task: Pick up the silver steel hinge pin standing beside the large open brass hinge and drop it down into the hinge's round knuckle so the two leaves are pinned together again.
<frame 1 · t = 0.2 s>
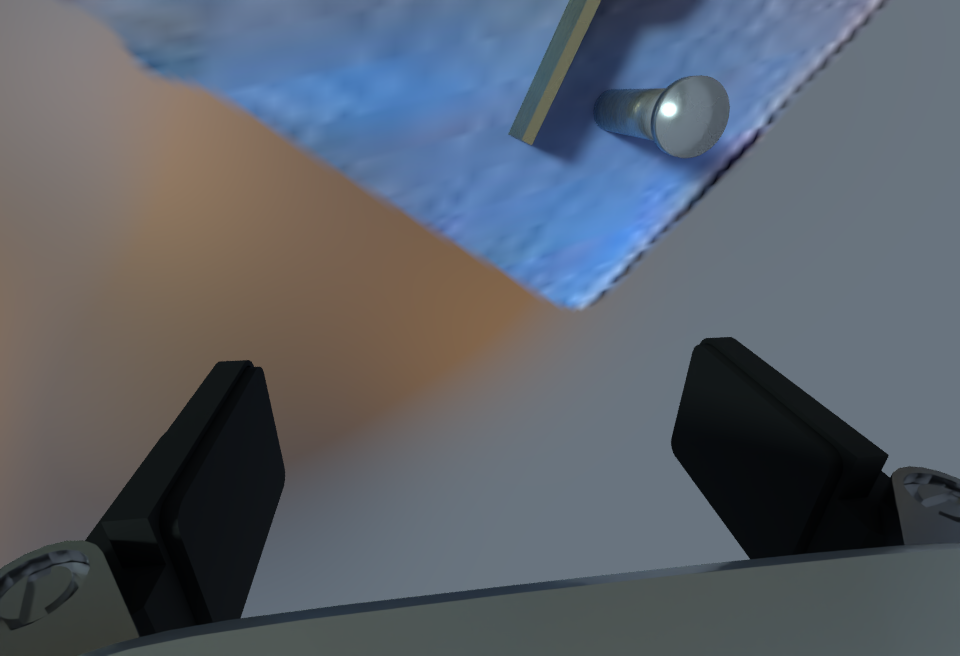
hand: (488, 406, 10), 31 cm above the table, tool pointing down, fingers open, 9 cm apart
hinge pin: (612, 110, 37), on the table
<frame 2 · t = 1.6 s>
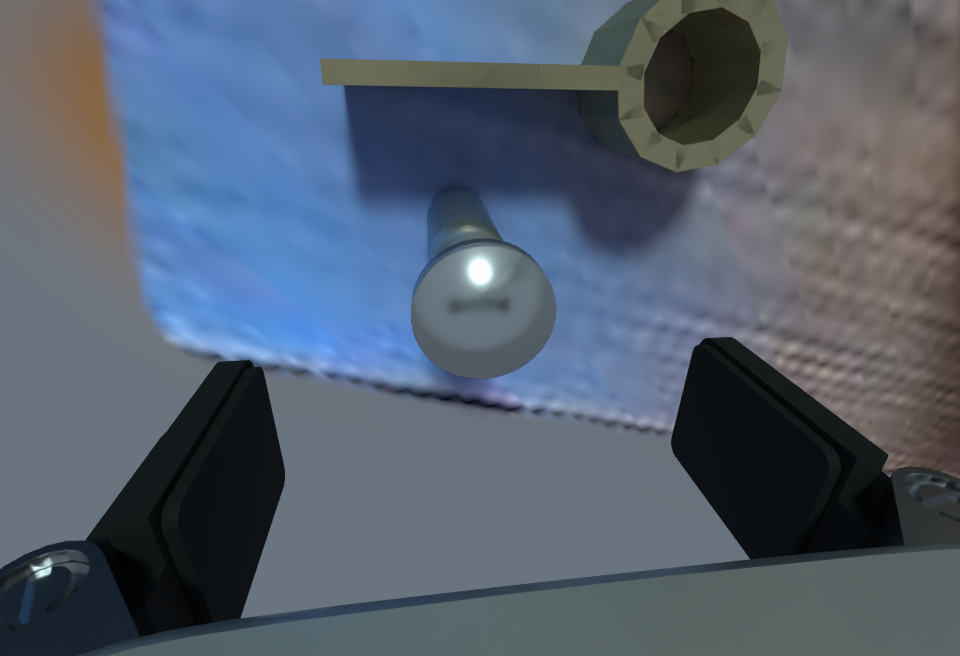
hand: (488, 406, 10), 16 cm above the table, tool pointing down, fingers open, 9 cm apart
hinge pin: (456, 216, 24), on the table
brass hinge: (646, 81, 22), on the table
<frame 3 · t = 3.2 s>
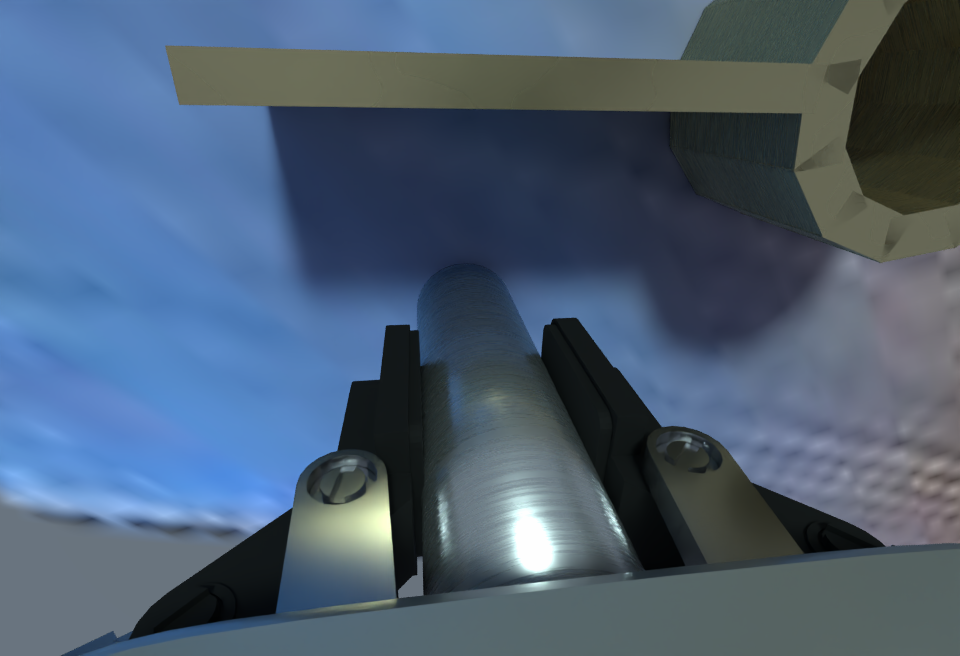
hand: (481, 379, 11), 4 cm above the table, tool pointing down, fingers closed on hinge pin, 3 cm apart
hinge pin: (464, 308, 15), on the table, touching gripper
brass hinge: (780, 93, 13), on the table
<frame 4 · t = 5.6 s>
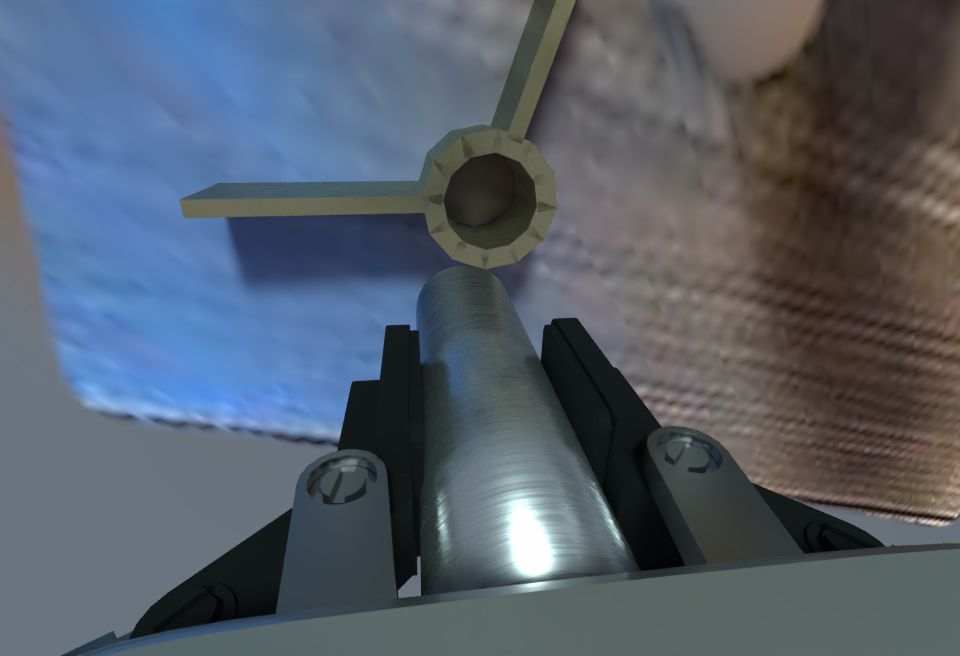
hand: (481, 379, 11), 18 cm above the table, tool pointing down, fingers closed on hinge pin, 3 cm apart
hinge pin: (463, 310, 15), point 14 cm above the table, touching gripper
brass hinge: (476, 187, 27), on the table
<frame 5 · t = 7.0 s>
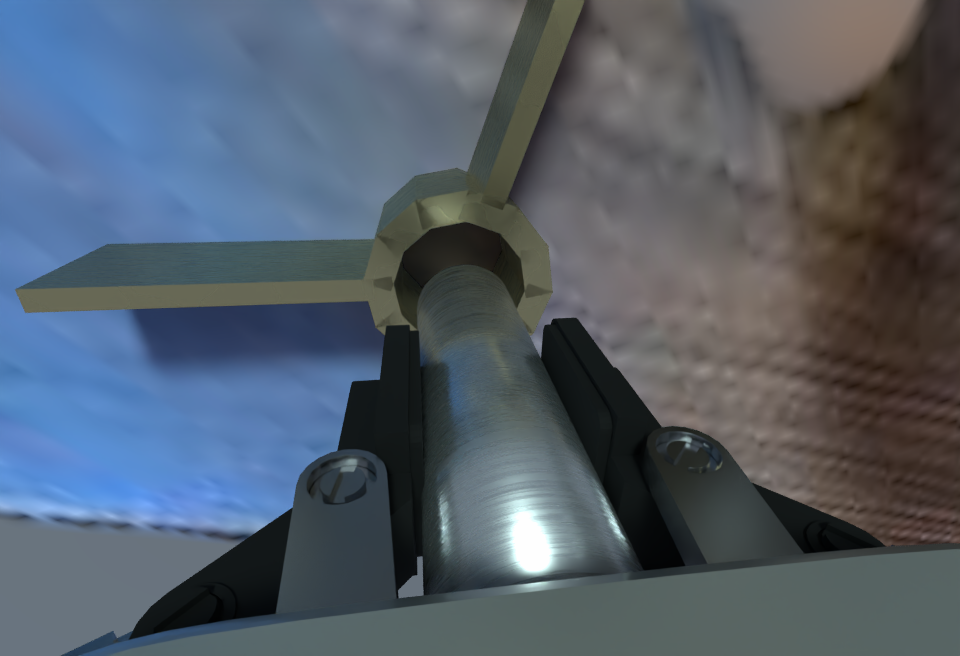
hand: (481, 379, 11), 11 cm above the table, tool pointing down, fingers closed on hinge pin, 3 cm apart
hinge pin: (464, 309, 15), point 7 cm above the table, touching gripper
brass hinge: (450, 246, 21), on the table
when the fingers open (7 cm above the table, at t = 8.1 s): hinge pin stays where it is, resting in brass hinge.
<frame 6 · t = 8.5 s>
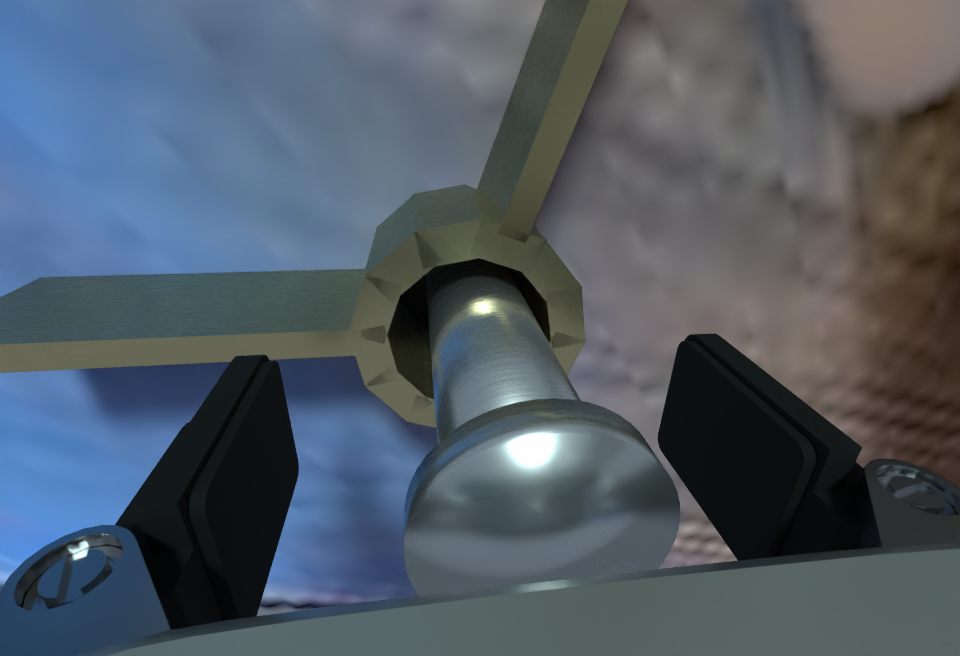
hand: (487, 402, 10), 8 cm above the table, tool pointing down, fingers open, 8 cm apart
hinge pin: (465, 274, 18), resting in brass hinge
brass hinge: (456, 276, 18), on the table
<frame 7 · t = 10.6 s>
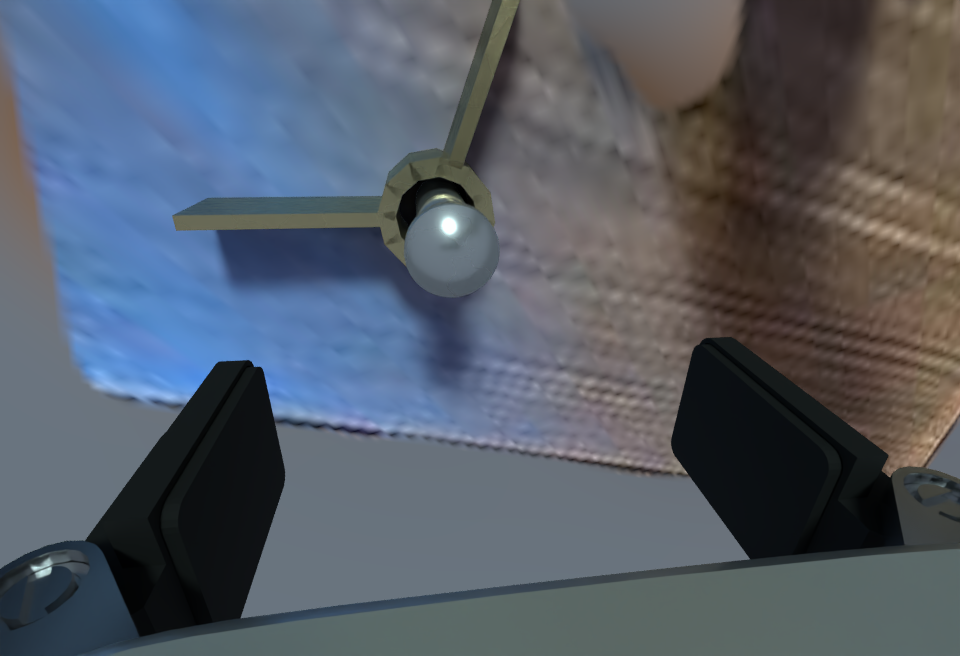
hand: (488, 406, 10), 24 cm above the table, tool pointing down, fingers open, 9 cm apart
hinge pin: (438, 200, 31), resting in brass hinge
brass hinge: (433, 201, 31), on the table
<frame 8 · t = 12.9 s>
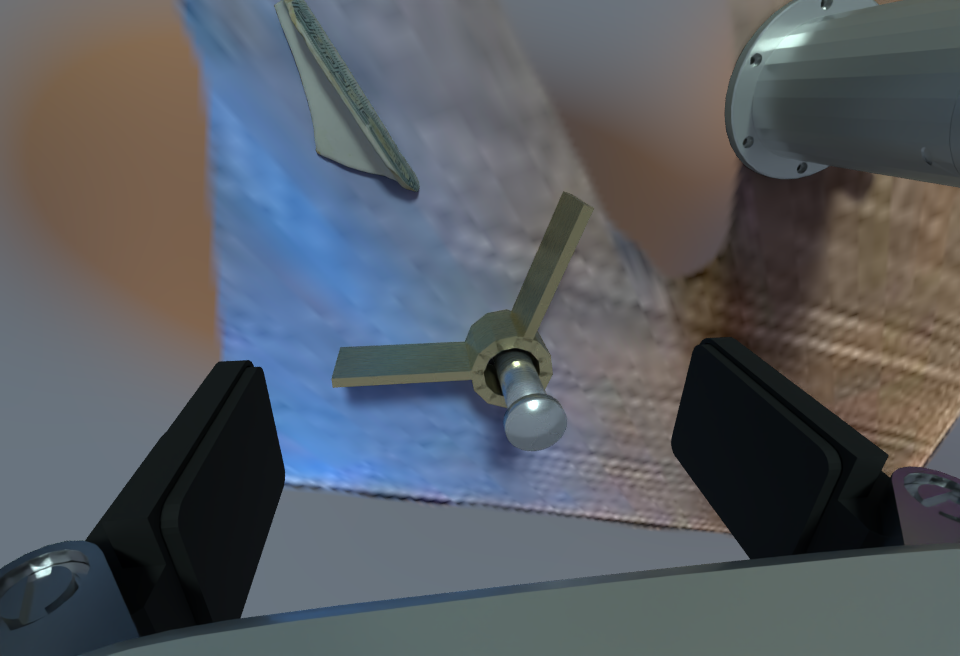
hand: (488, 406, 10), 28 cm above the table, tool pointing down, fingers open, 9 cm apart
hinge pin: (505, 343, 42), resting in brass hinge
brass hinge: (501, 344, 42), on the table
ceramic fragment: (352, 104, 33), on the table
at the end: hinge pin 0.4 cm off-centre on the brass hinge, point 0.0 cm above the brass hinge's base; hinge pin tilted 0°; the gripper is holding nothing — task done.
